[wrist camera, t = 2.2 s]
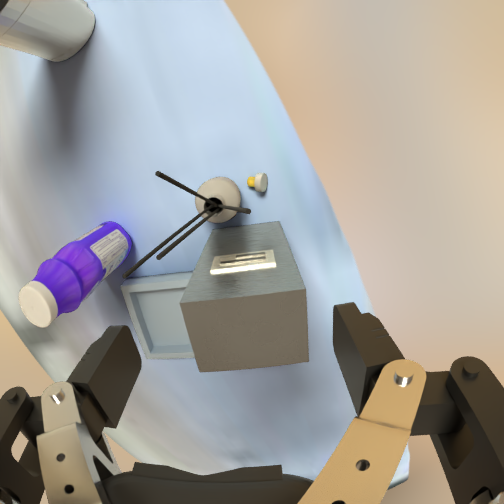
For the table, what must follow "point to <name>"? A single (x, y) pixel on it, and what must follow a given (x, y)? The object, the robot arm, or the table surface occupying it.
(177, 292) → the tray
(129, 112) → the table surface
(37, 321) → the bottle
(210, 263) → the grey slotted box
